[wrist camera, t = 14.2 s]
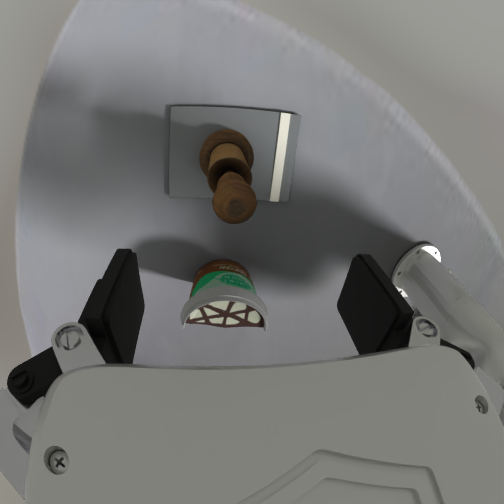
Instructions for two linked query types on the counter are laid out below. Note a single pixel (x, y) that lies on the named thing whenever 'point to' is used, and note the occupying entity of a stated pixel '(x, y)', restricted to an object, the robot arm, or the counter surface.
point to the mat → (257, 133)
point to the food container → (224, 298)
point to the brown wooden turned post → (229, 174)
